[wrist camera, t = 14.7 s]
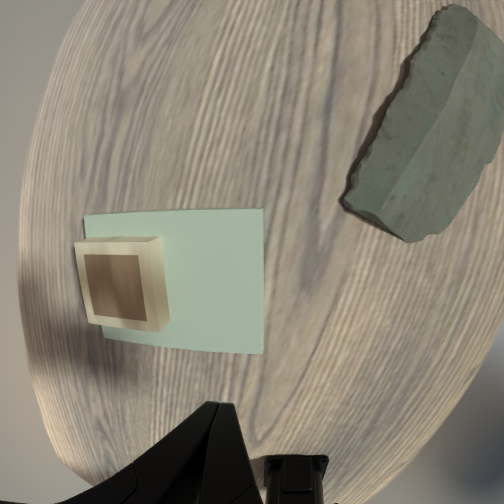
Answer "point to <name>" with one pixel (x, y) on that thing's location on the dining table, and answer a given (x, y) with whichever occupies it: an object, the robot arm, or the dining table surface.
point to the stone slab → (435, 130)
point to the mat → (200, 275)
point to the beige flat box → (124, 282)
